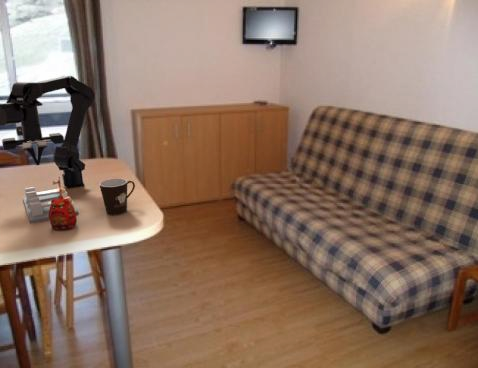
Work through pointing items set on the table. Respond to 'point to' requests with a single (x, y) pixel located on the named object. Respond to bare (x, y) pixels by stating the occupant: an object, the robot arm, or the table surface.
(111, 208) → the coffee mug
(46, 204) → the strap near
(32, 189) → the grey stepped panel
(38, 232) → the table surface
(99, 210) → the table surface
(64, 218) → the red clay folk toy
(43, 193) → the strap far
